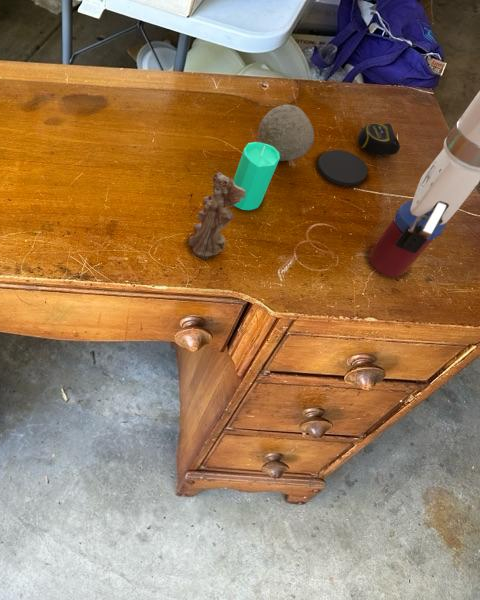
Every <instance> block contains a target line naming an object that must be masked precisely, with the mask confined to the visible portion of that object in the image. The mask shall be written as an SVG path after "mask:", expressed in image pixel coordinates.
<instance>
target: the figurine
mask: <svg viewBox="0 0 480 600" xmlns="http://www.w3.org/2000/svg"><path fill="white" fill-rule="evenodd" d="M233 180H234V178H230V176H226V175H224V174H223V173H222V172H220V171H219V172H217V173H214V174H213V176H212V180H211V182H212V184H213V190H212V192H213V193H211V194H210V195H208V196H204V197H203V201H202V205H203V209H201V210H199V211H198V212H197V214H198V216H197V220H198V221H199V222H197V223H195V224H194V225H193V231H194V235H191V236H189V237H188V243H189V244H188V245H189V246H191V250H192V252H193V253H194V255H196V256H197V257H199V258H202V259H208V258H212V257H213V256H216V255H217V254H219V253H223V249H224V248H225V247H226V242H225V241H226V238H225V236H224V235H222V233H221V232H220V231H222V230H224V229H225V228H226V227H227V226H228V224H229V223H230V222H231V221H233V220H234V213H233V212H232V211H231V210H230V209H232V208H233V207H235V206H234V205H235V204H236V203H239V202H240V201H241V198H244V197H245V196H246V193H245V192H246V191H245V190H244V189H243V188H242V187H241V188H240V187H238V186H237V185H235V182H233ZM227 207H228V208H227Z"/></svg>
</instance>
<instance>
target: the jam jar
mask: <svg viewBox="0 0 480 600" xmlns="http://www.w3.org/2000/svg"><path fill="white" fill-rule="evenodd" d="M402 233H403V232H402V231H401V230H400V229H399V228H398V226H397V225H396V223H395V219H394V218H393V219H392V221H391V222H390V223H389V224H388V226H387V227H386V229H385V230H384V232H383V233H382V234H381V236H380V237H379V239H378V240H377V241H376V243H375V245H374V246H373V247H372V249H371V250H370V251H369V254H368V261H369V263H370V265H371V267H372V268H373V269H374V270H375V271H377V272H378V273H380V274H382V275H384V276H387V277H394V278H395V277H401V276H403V275H405V274H406V273H407V272H408V270H409V269H410V268H411V267H412V266H413V265H414V263H415V262H416V261H417V260H418V259H419V258H420V256H421V255H422V254H423V252H424V251H425V250H426V249H427V248H428V246H429V245H430V244H431V243H432V242H433V240H434V239H432V240H426V242H425V243H424V244H423V245H422V246H421V248H420V249H419V250H418V251H417V252H416V253H412V252H409V251H407V250H404V249H402V248H399V247H397V246H396V245H395V244H396V241H397V240H398V239H399V237H400V236H401V235H402Z"/></svg>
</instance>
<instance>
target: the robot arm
mask: <svg viewBox="0 0 480 600" xmlns="http://www.w3.org/2000/svg"><path fill="white" fill-rule="evenodd" d="M479 183H480V90H479V91H478V92H477V94H476V95H475V97H474V98H473V99H472V101H471V102H470V103H469V105H468V107H467V108H466V109H465V111H464V112H463V114H462V115H461V117H460V118H459V119H458V121H457V122H456V123H455V124H454V126H453V128H452V129H451V131H450V132H449V133H448V135H447V136H446V138H445V139H444V140H443V148H442V150H441V151H440V152H439V154H438V155H437V156H436V157H435V158H434V160H433V161H432V162H431V164H430V165H429V166H428V167H427V169H426V170H425V172H424V173H423V174H422V176H421V177H420V180H419V182H418V184H417V187H416V190H415V193H414V196H413V199H412V200H413V202H412V205H411V209H410V210H411V214H412V215H415V216H417V217H416V219H415V220H414V222H413V223H412V225H411V227H409V226H408V227H407V228H406V230H405V231H404V232H403V233H402V235H401V236H400V237H399V239H398V240H397V241H396V244H395V245H396V246H397V247H399V248H402V249H404V250H407V251H409V252H412V253H416V252H417V251H418V250H419V249H420V248H421V246H422V245H423V244H424V243H425V242H426V240H427V239H428V238H429V237H430V235H431V234H432V232H433V230H434V229H435V227H436V226H437V224H438V223H439V225H443V224H445V223H446V224H447V222H449V221H450V219H451V218H452V217H453V216H454V215H455V214H456V212H457V211H458V210H459V208H461V206H462V205H463V204H464V202H465V201H466V200H467V199H468V197H469V196H470V195H471V193H472V192H473V191H474V189H475V188H476V187H477V186H478V185H479ZM429 211H431V213H430V215H428V214H426V213H427V212H429ZM421 219H425V220H426V222H425V224H424V225H423V226H417V225H418V224H419V222H420V220H421Z"/></svg>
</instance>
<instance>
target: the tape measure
mask: <svg viewBox="0 0 480 600" xmlns="http://www.w3.org/2000/svg"><path fill="white" fill-rule="evenodd" d="M357 143H358V146H359V147H360V148H361V150H362V151H363V152H365V153H367V154H369V155H372V156H377V157H380V156H392V155H396V154H397V153H398V152H399V150H400V149H401V145H400V142H399V140H398V138H397V136H396V134H395V132H394V129H393V126H392V125H391V123H389V122H388V123H387V122H386V123H385V122H384V123H381V122H370V123H368V124H365V126H363V127H362V128H361V129H360V131H359V133H358V135H357Z"/></svg>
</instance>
